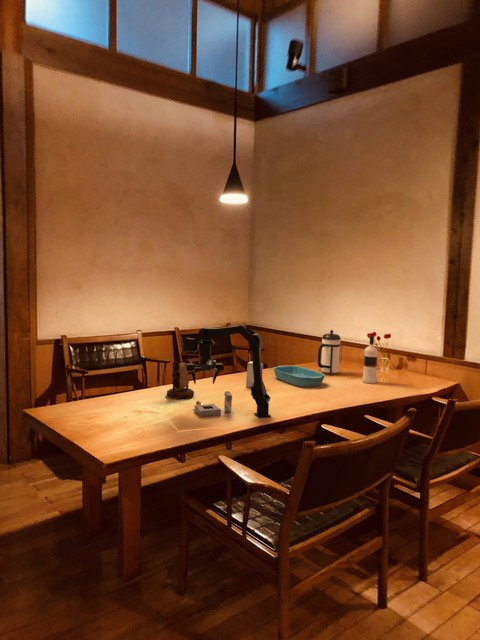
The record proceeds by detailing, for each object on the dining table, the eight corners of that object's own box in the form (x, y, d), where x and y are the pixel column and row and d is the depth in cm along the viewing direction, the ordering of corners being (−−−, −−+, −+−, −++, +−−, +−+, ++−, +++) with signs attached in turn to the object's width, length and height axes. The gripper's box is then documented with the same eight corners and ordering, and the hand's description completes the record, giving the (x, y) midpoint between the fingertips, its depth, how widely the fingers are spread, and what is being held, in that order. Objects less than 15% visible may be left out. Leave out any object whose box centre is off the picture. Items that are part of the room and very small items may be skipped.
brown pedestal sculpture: (179, 401, 273) (179, 363, 271) (161, 395, 283) (161, 359, 281) (199, 396, 284) (200, 360, 282) (181, 391, 294) (182, 356, 292)
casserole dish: (331, 386, 319) (331, 374, 318) (303, 390, 307) (303, 378, 306) (293, 374, 350) (294, 364, 349) (266, 377, 338) (267, 366, 337)
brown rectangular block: (229, 409, 258) (230, 391, 257) (232, 414, 250) (233, 395, 249) (223, 410, 257) (223, 391, 256) (225, 414, 249) (226, 395, 248)
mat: (236, 415, 251) (236, 414, 251) (225, 416, 249) (225, 415, 249) (230, 410, 258) (230, 409, 258) (219, 411, 256) (219, 410, 256)
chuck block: (220, 416, 248) (221, 409, 248) (200, 418, 244) (201, 411, 244) (207, 405, 266) (207, 398, 266) (188, 407, 263) (188, 400, 262)
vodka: (360, 382, 330) (363, 335, 327) (363, 380, 338) (366, 334, 335) (375, 384, 326) (377, 337, 323) (378, 381, 334) (380, 335, 331)
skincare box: (245, 387, 309) (246, 362, 307) (249, 385, 314) (250, 360, 313) (259, 388, 306) (259, 364, 304) (262, 386, 311) (263, 362, 310)
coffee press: (316, 370, 364) (318, 328, 361) (340, 372, 362) (342, 329, 358) (317, 375, 347) (319, 331, 343) (341, 377, 345) (343, 332, 341)
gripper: (188, 356, 246) (187, 388, 248) (226, 355, 250) (225, 387, 252) (185, 351, 257) (184, 382, 259) (222, 351, 261) (221, 382, 263)
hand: (204, 383), depth 258 cm, fingers open, 9 cm apart
